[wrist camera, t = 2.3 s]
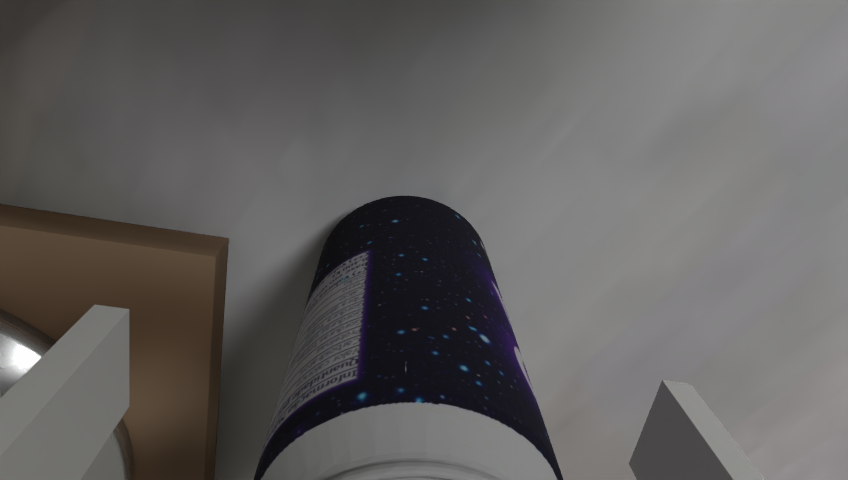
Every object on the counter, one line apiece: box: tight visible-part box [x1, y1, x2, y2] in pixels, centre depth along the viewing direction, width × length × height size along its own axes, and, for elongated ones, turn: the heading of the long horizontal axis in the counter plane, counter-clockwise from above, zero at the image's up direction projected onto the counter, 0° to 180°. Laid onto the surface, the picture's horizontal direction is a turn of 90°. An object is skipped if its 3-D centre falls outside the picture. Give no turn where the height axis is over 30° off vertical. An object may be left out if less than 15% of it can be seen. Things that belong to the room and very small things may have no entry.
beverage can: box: [254, 196, 563, 480], centre depth 15 cm, size 6×6×12 cm
